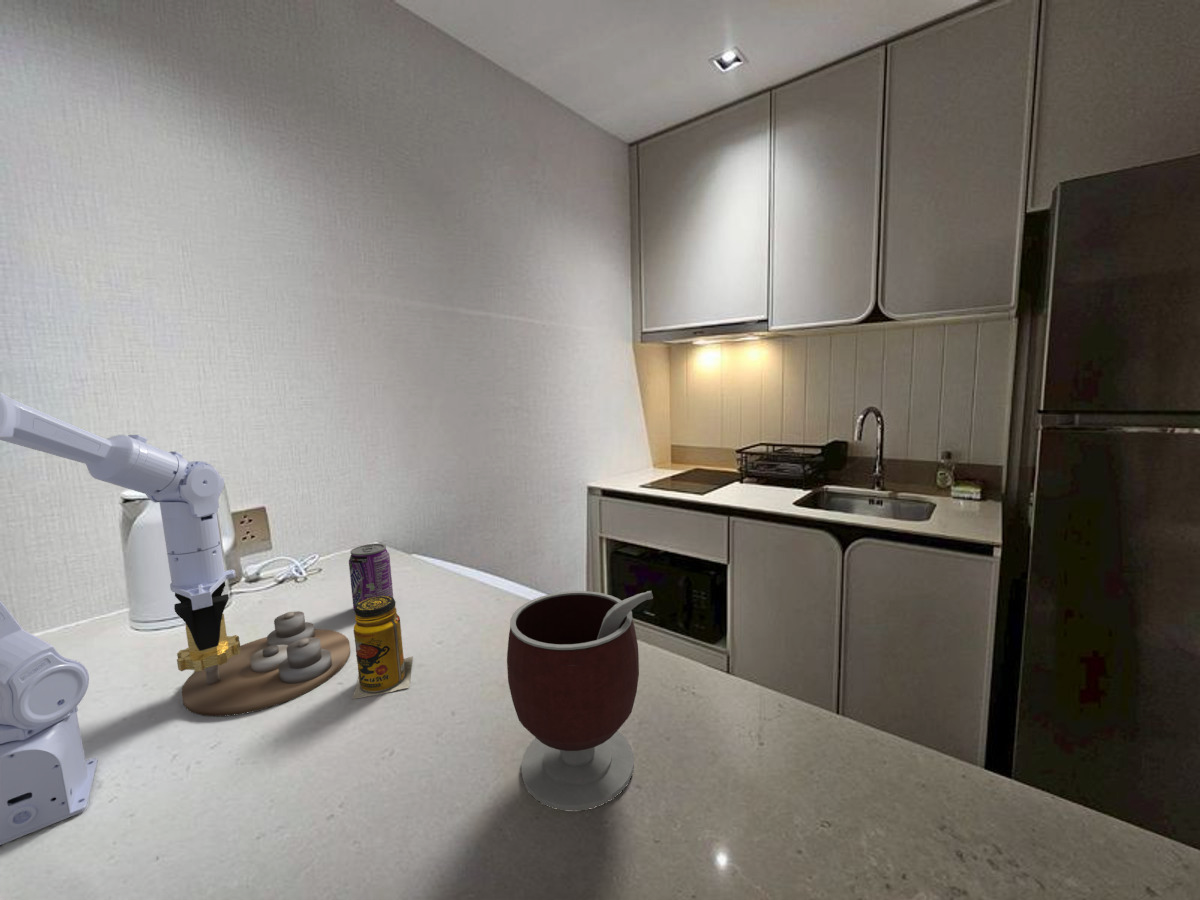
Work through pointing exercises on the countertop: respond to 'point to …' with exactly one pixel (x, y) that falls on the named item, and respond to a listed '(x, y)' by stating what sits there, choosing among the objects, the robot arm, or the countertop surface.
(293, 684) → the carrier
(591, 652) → the mate gourd
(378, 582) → the beverage can
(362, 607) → the condiment
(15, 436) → the robot arm
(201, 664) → the brass gear
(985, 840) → the countertop surface
